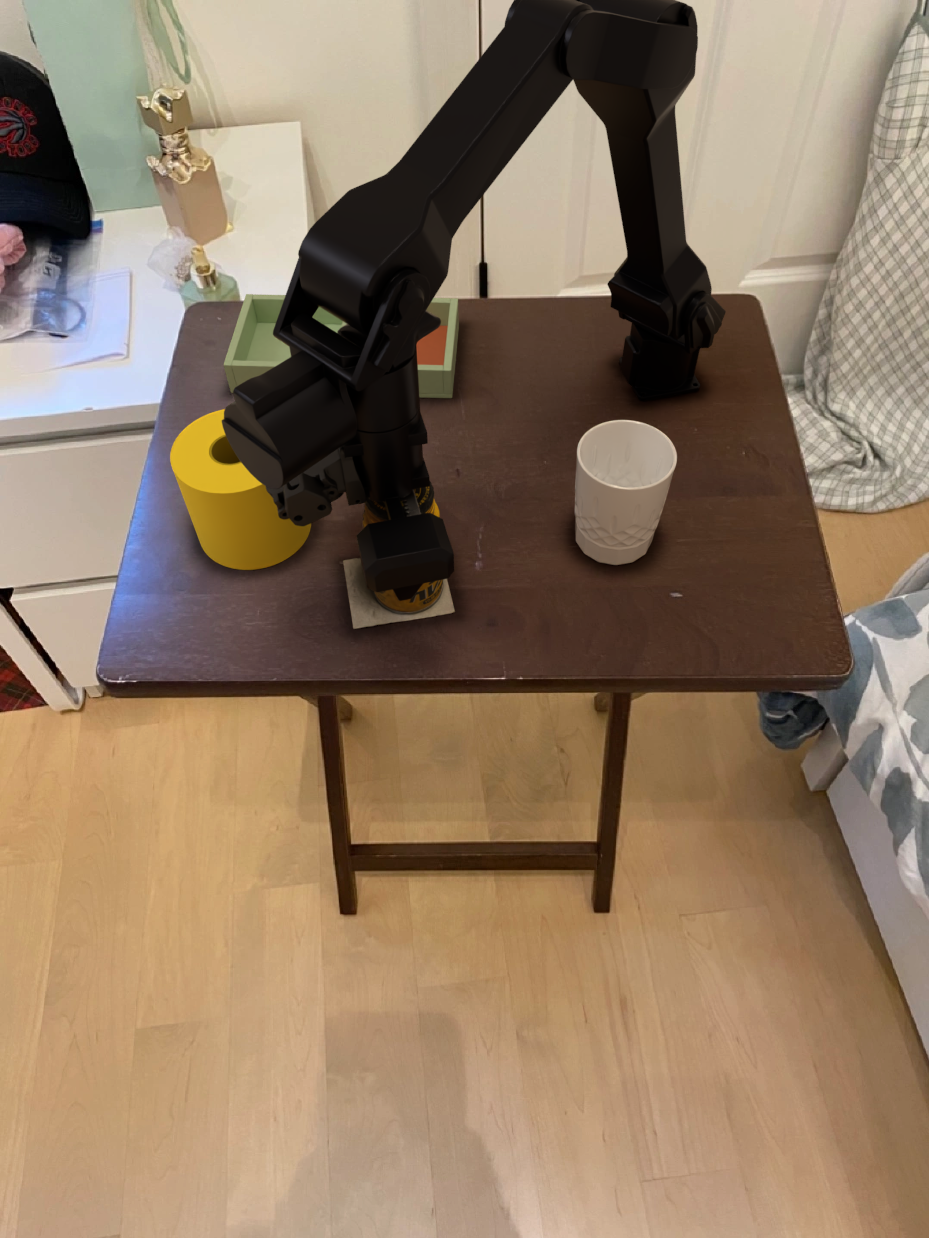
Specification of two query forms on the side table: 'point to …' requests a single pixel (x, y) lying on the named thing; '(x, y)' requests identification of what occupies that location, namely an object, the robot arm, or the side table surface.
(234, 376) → the holder
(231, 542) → the yellow toilet paper roll
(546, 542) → the side table surface
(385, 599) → the condiment
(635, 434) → the white cup
